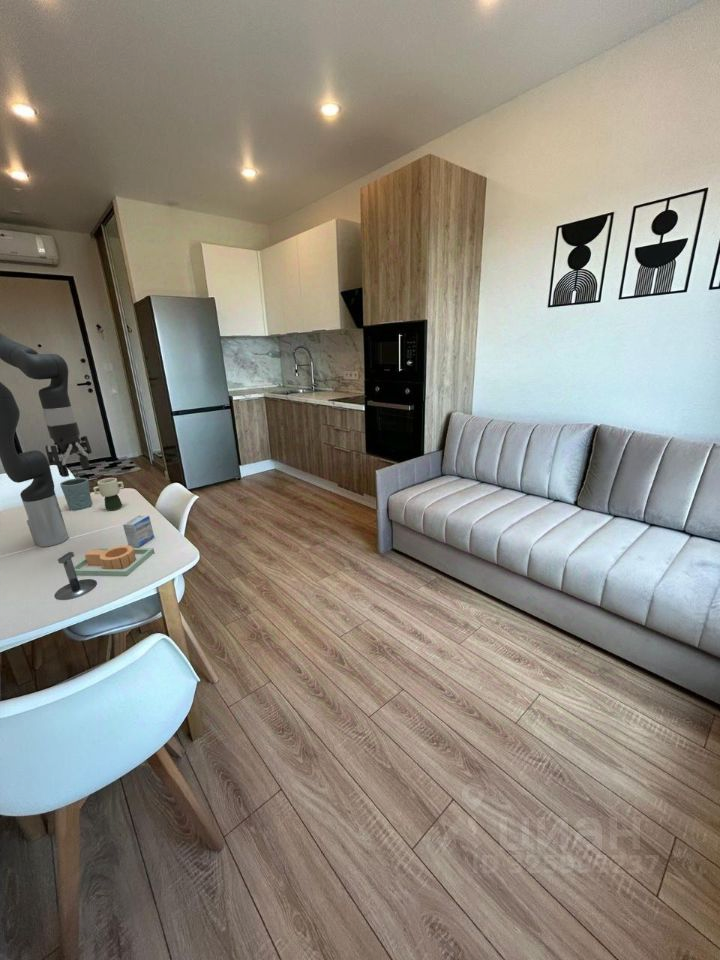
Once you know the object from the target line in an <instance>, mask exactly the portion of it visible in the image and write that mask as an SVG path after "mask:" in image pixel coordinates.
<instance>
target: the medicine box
mask: <svg viewBox="0 0 720 960" xmlns="http://www.w3.org/2000/svg"><path fill="white" fill-rule="evenodd" d="M122 527H123V530H124V535H125V538H126V542H127V545H129V546H132V547H133V548H141V547H142V546H143V545H144V543H145V544H147V541H148V542H149V541H151V540H152V539H154V538H153V537H155V534H154V530H153V526H152V521H151V518H150V515H143V514H142V515H140V514H139V515H138V516H136V517H135V518H133V519H131V520H129V521H127V522H126V523H123V524H122ZM150 539H151V540H150ZM142 544H143V545H142ZM141 545H142V546H141Z"/></svg>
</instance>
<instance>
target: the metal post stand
mask: <svg viewBox="0 0 720 960" xmlns="http://www.w3.org/2000/svg"><path fill="white" fill-rule="evenodd" d="M74 557H75V553H74V552H73V551H69V552H67V553H65V554H64V555H63V556H61V557H59V558H58V559H57V561H58V564H63V567H64V571H65V573H66V576H67V581H68V583H67V584H65V585H63V586H62V587H61V588H59V589H58V590H56V592H55V593H54V599H56V600H58V601H70V600H73V599H78V598H80V597H83V596H84V595H87V594H88V593H90V592H91V591H93V590H94V589H95V588H96V587H97V585H98V582H97V580H95V579H93V578H92V579H91V578H86V579H78V575H76V572H75V569H74V562H73V559H72V558H74Z"/></svg>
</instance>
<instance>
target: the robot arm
mask: <svg viewBox="0 0 720 960" xmlns="http://www.w3.org/2000/svg"><path fill="white" fill-rule="evenodd" d="M0 360H2V361H3V362H4V363H6V364H8V365H10V366H12V367H15V368H17V369H19V370H20V371H21V372H22V373H23V374H24V375H25V376H27V378H30V379H32V380H41V381H42V380H49V379H50V384H49V385H48V386H46V387H43V388H41V389H39V390H38V397H39V400H40V404H41V408H42V411H43V417H44V421H45V424H46V427H47V431H48V434H49V437H50V439H51V440H53V441H54V443H53V444H51V445H46V446H45V447H44V449H45V452H46V455H47V456H46V455H45V454H44V453H43V452H42V451H39V450H30V451H25V452H21V453H18V452H17V449H16V445H15V433H16V430H17V427H18V424H19V420H20V416H21V415H20V414H21V413H20V408H19V406H18V404H17V401H16V399H15V397H14V394H13V393H12V391H11V390H10V389H9V388H8V387H7V386H6V385H5V384H4V383H2V382H1V381H0V461H1V464H2V467H3V469H4V472H5V473H6V475H7V477H8V478H9V480H11V481H12V482H13V483H19V484H20V483H23V482H28V481H30V480H32V482H31V483H30V484H29V485H28V486H27V487H26V488H24V489H23V490H21V491H20V498H21V501H22V504H23V507H24V510H25V512H26V516H27V518H28V519H27V520H26V523H27V526H28V529H29V532H30V536H31V538H32V540H33V544H34V545H36V546H38V547H39V548H41V547H42V548H44V547H51V546H55V545H58V544H61V543H63V542H66V541H67V540H68V539H69V533H68V530H67V528H66V527H67V526H66V524H65V521H64V517H63V514H62V511H61V508H60V504H59V502H58V498H57V495H56V492H55V491H56V490H55V482H54V479H53V475H52V470H51V467H50V466H57V467H56V468H57V470H58V473H59V475H60V476H61V478H62V477H63V478H67V477H69V476H70V473H69V469H68V466H67V464H66V462H67V460H68V459H69V457H70V456H71V455H73V454H76V456H78V457H79V458H78V459H79V462H80V465H81V466H80V467H81V468H82V469H90V462H89V458H88V457H89V454H92V449H91V446H90V442H89V439H88V436H86V435H80V429H79V426H78V421H77V419H76V415H75V412H74V409H73V407H72V404H71V401H70V396H69V392H68V390H69V387H68V386H69V380H68V379H69V366H68V364H67V362H66V360H65V358H63V357H62V356H61V355H60V354H55V353H39V352H38V351H36V350H35V349H33V348H32V347H30V346H27V345H24V344H22V343H20V342H16V341H14V340H12V339H11V338H10V337H8V336H7V335H5V334H3V333H1V332H0Z"/></svg>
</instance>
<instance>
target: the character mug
mask: <svg viewBox="0 0 720 960" xmlns="http://www.w3.org/2000/svg"><path fill="white" fill-rule="evenodd" d="M119 485H120V486H119ZM124 489H125V486H124V482H123V481H118V479H117V478H116V477H115V478H114V477H108V478H103V479H99V480H98V481H97V486H94V487H93V492H94V494H95V495H99V494H100V496H101V497H104V509H105V510H107V511H108V510H110V511H112V510H118V509H120V508H121V507H122V506H123V504H122V501H121V499H120V497H119V495H118V494H119V493H120V490H124ZM97 490H98V491H97Z"/></svg>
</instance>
